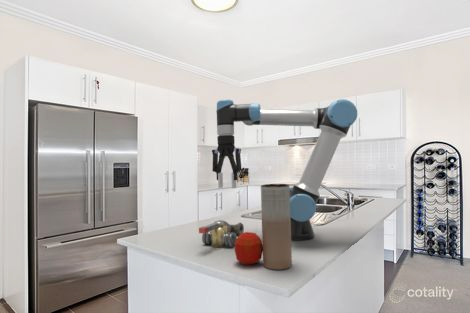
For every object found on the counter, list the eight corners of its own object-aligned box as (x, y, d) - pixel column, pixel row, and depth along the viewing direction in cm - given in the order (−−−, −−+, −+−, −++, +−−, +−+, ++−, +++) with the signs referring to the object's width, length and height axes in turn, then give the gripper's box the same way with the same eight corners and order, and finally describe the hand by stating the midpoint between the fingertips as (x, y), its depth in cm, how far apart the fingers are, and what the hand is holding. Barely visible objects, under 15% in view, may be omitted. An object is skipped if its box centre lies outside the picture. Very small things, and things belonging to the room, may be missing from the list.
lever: (217, 225, 131) (217, 220, 131) (225, 225, 129) (225, 221, 129) (197, 232, 117) (197, 227, 117) (206, 233, 115) (206, 228, 115)
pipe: (220, 250, 147) (206, 241, 136) (215, 235, 153) (200, 225, 141) (248, 234, 145) (235, 223, 134) (241, 219, 151) (229, 208, 140)
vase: (259, 268, 99) (257, 186, 99) (267, 259, 108) (264, 183, 109) (289, 271, 95) (286, 186, 96) (294, 261, 105) (291, 183, 105)
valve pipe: (237, 245, 128) (236, 226, 128) (229, 249, 121) (229, 230, 121) (210, 241, 134) (209, 224, 134) (201, 245, 128) (201, 227, 128)
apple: (241, 270, 98) (240, 235, 98) (230, 261, 107) (229, 229, 107) (268, 265, 102) (267, 231, 102) (255, 256, 111) (254, 226, 112)
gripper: (248, 134, 129) (250, 187, 128) (212, 137, 137) (213, 186, 137) (241, 133, 122) (243, 189, 122) (203, 136, 131) (204, 188, 130)
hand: (227, 187), depth 129 cm, fingers open, 6 cm apart
